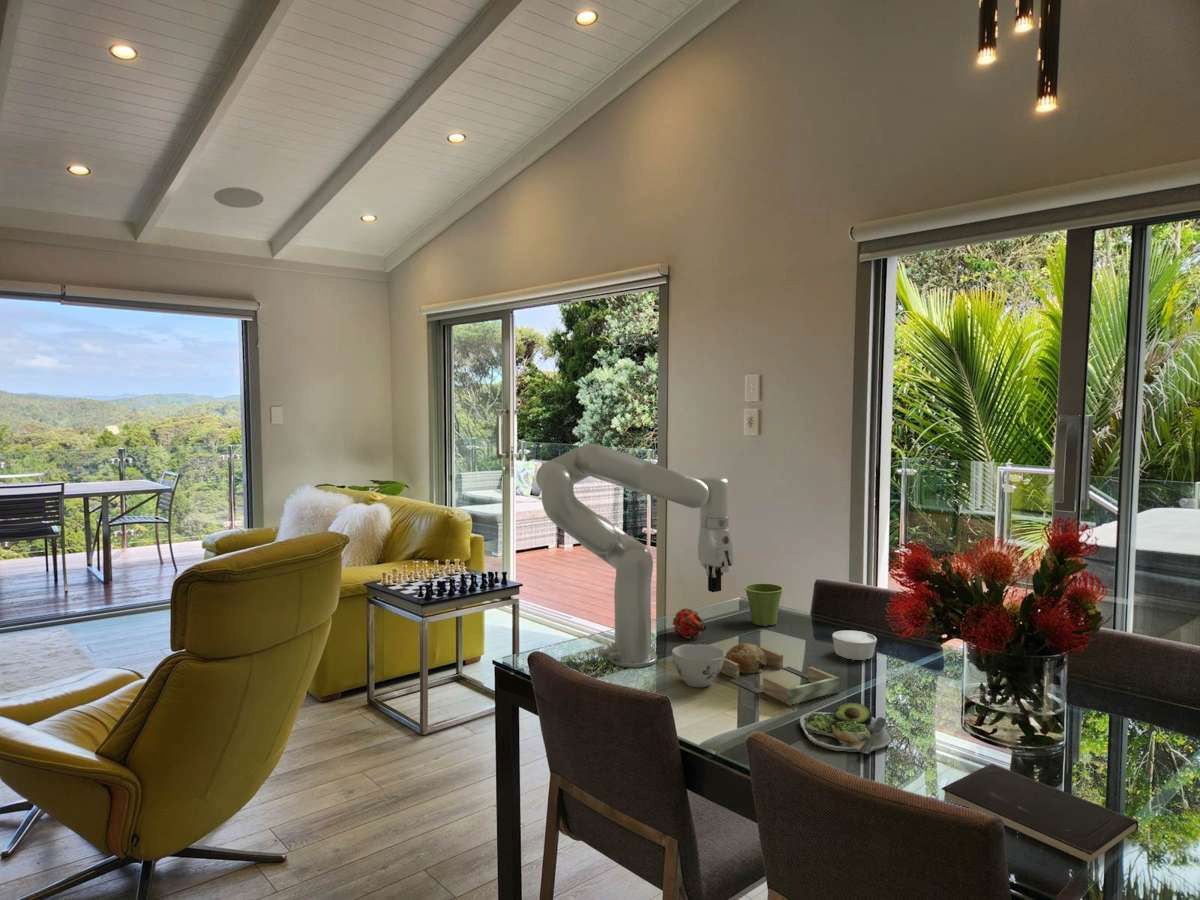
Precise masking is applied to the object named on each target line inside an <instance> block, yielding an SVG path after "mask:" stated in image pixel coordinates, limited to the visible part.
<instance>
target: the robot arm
mask: <svg viewBox="0 0 1200 900" xmlns="http://www.w3.org/2000/svg"><path fill="white" fill-rule="evenodd" d="M588 477H591V478H594V479H597V480H599V481H600V480H601V481H603V482H606V483H609V484H613V485H616V486H618V487H621V488H624V489H627V490H631V491H634V492H637V493H639V494H644V495H649V496H653V497H655V498H656V497H657V498H659V499H660V498H661V499H663V500H666V501H670V502H672V503H676V504H678V505H681V506H684V507H687V508H690V509H699V512H700V513H699V519H700V520H699V525H700V526H699V535H698V544H697V556H698V561H699V562H700V566H702V568H705V569H704V570H705V572H706V576H707V591H708V592H710V593H715V592H716V593H717V592H721V591H722V577H723V575H724V573H729V572H730V569H729V567H732V566H734V565H733V564H734V547H733V546H734V545H733V538H732V537H733V536H732V533H731V529H730V528H729V525H730V524H729V521H730V519H729V518H730V517H729V514H730V513H729V511H730V510H729V503H730V500H729V497H730V496H729V481H728V479H727V478H726V477H724V476H723V477H722V476H707V477H706V476H705V477H694V476H693V477H692V476H689V475H686V474H683V473H680V472H676V471H674V470H672V469H668V468H665V467H663V466H661V465H658V464H656V463H655V462H651V461H649V460H646V459H642V458H640V457H636V456H634V455H631V454H628V453H624V452H622V451H620V450H616V449H613V448H610V447H607V446H604V445H601V444H597V443H596V444H595V443H586V444H583V445H581V446H579V447H576V448H574V449H572V450H569V451H568V452H566V453H563V454H561V455H559V456H557V457H555V458H552V459H551V460H548V461H546V462H545V463H543V464H541V465H540V467H539V468H538V470H537V471H536V475H535V481H536V484H537V486H538V488H539V489H540V490H541V504H542V507H543V509H544V512H545V514H546V516H547V517H548V519H549V520H550V521H551V522H552V523H554V525H556V526H557V527H558V528H559V529H561V530H562V531H564V533H566V534H567V535H569V536H570V537H571V538H573V539H574V540H576V541H577V542H578V543H579V544H580V545H581V546H582V547H583V548H585V549H586V550H587V551H589V552H590V553H592V554H593V555H595V556H597V557H598V558H600V559H601V560H602V561H604V562H606V563H607V564H608V565H610V566H611V567H612V568H614V569H615V579H614V589H613V590H614V592H613V593H614V595H613V597H614V600H613V601H614V642H611V643H610V644H611V645H610V646H609V647H608V648H602V649H599V650H598V652H597V655H598V657H599V658H605V657H607V658H608V660H610V661H611V662H612V663H611V662H610V661H609V662H610V663H611V664H613V665H616V666H617V665H618V667H623V668H631V667H636V668H643V667H649V666H652V665H654V664H655V663H656V662H657V661H658V655H657V654H656V653H655V651H652V618H651V617H652V608H651V607H652V605H651V604H652V599H651V597H652V595H651V594H652V591H651V588H652V577H653V570H654V569H653V568H654V559H653V555H652V553H651V551H650V549H649V548H648V547H647V546H646V545H645V544H644V543H642V542H641V541H639V540H637V539H635V538H634V537H632V536H630V535H629V534H628V533H626V532H625V531H624V530H621V529H620V528H619V527H618V526H617V525H615V524H613V523H612V521H610V520H609V519H608V518H606V517H605V516H603V515H601V514H600V513H599V514H598V513H597V512H595V511H594V510H592V509H591V508H589V507H588V506H586V505H585V504H584V503H583V502H581V501H580V500H579V499H578V498H577V497H576V494H575V492H574V488H575V487H574V486H575V484H576V483H578V482H581V481H582V480H583V481H584V479H587V478H588Z"/></svg>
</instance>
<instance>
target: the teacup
mask: <svg viewBox="0 0 1200 900" xmlns="http://www.w3.org/2000/svg"><path fill="white" fill-rule="evenodd" d="M725 656H726V654H725V651H724V650H723V649H721V648H720V647H716V646H714V645H709V644H700V643H699V644H692V643H691V644H682V645H679V646H676V647H673V648H672V650H671V657H672V662H673V666H674V668H675V670H676V673H677V674H678V676H679V677H680V679H682V680H683V681H684V683H685V684H686V685H687V686H689V687H691V688H692V687H693V688H706V687H709V686H710V685H711V683H713V682H714V680H715V679H716V678H718V676H719V674H720V673H721V672H720V670H721V668H722V665H723V660H724V657H725Z"/></svg>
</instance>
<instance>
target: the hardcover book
mask: <svg viewBox="0 0 1200 900" xmlns="http://www.w3.org/2000/svg"><path fill="white" fill-rule="evenodd" d="M941 790H942V791H943V792H944V799H946V800H948V799H949V800H948V801H951V800H952V801H951V802H953V801H954V802H953V803H955V804H958V805H959V806H962V805H963V806H962V807H964V806H966V807H969V808H973V809H976V810H979V811H982V812H985V813H988V814H992V815H995V816H997V817H998V818H1000V819H1001V820H1002V821H1003V823H1004V824H1003V825H1004V826H1006V827H1009V828H1011V829H1013V830H1016V831H1017V832H1020V833H1021V834H1025V835H1027V836H1028V837H1031V838H1034V839H1036V840H1038V841H1040V842H1043V843H1044V844H1046V845H1048V846H1051V847H1053V848H1054V849H1055V848H1056V849H1058V850H1060V851H1062V852H1065V853H1066V854H1069V855H1071V856H1073V857H1076V858H1078V859H1081V860H1083V861H1084V862H1087V863H1089V864H1091V863H1092V862H1093V861H1094V860H1096V859H1097V858H1098V857H1100V856H1101V855H1103V854H1104V853H1105V852H1107V851H1108V850H1110V849H1111V848H1112V847H1114V846H1115V845H1116V844H1118V843H1119V842H1121V841H1122V840H1124V839H1125V838H1126V837H1128V836H1129V835H1130V834H1133V832H1134V831H1138V830H1139V821H1138V819H1135V818H1133V817H1130V816H1128V815H1125V814H1122V813H1120V812H1118V811H1115V810H1113V809H1110V808H1108V807H1104V806H1102V805H1099V804H1097V803H1094V802H1092V801H1089V800H1087V799H1084V798H1081V797H1079V796H1076V795H1074V794H1072V793H1069V792H1067V791H1063V790H1062V789H1059V788H1056V787H1053V786H1050V785H1048V784H1045V783H1042V782H1040V781H1038V780H1036V779H1032V778H1031V777H1028V776H1024V775H1023V774H1020V773H1018V772H1015V771H1012V770H1010V769H1008V768H1004V767H1002V766H999V765H996V764H994V763H990V764H987V765H985V766H984V767H981V768H979V769H977V770H975V771H973V772H971V773H969V774H967V775H965V776H963V777H961V778H959V779H957V780H955V781H953V782H951V783H949V784H946V785H945V786H943V787H941ZM966 807H965V808H966Z"/></svg>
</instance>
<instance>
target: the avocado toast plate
mask: <svg viewBox="0 0 1200 900" xmlns="http://www.w3.org/2000/svg"><path fill="white" fill-rule="evenodd" d="M871 712H872V711H870V709H869V707H867V706H866V705H865V704H862V703H858V702H848V703H846V702H845V703H841V705H839V706H837V707H836V710H835V711H834V712H825V711H824V712H823V711H821V712H820V711H811V712H807V713H804V714H803V715H801V716H800V718H799V727H800V729H801V728H802V729H803V730H802V729H801V730H802V732H803V733H804V735H805V736H806V737H807V739H808V740H809V741H810V742H811V741H812V742H811V743H813V744H814V743H815V744H814V745H816V744H818V745H820V746H824V747H827V748H838V749H839V748H840V749H857V750H858V751H859V752H860V753H859V754H863V755H870V753H871V752H874V751H877V750H881V749H883V748H885V747H887V746H889V745H890V744H891V741H892V739H891V736H890V735H889V733H888V732H887V731H886V729H884V727H885V726H886V723H887V719H886V718H883V717H880V716H879V717H878V718H875V717H873V716H872V713H871ZM831 713H832V714H834V719H832V717H831V716H829V715H825V714H831ZM807 722H808V723H807ZM806 727H807V728H809V729H812V730H816V731H822V732H826V733H833V734H834V736H835V737H836V738H837V739H839V740H841V741H844V742H848V743H850V744H851V745H852V746H851V747H847V746H835V744H831V743H827V742H824V741H821V740H820V739H818V738H816V737H815V738H816V739H815V738H813V737H812V736H811V735H809V734H808V732H807V730H806ZM817 739H818V740H817Z"/></svg>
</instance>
